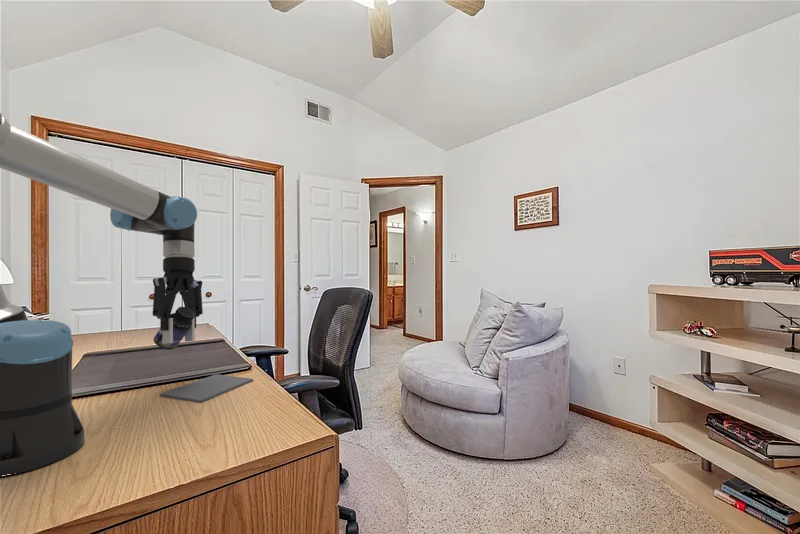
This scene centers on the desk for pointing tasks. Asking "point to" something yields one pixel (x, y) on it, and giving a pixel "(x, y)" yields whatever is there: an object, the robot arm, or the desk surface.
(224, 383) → the desk mat
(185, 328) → the pill bottle
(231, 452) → the desk surface
